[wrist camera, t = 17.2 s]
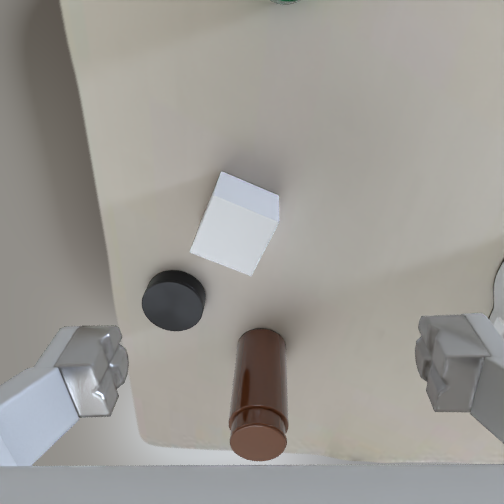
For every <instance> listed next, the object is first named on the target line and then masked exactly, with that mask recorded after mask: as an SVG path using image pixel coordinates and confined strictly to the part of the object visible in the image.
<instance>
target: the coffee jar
mask: <svg viewBox="0 0 504 504" xmlns="http://www.w3.org/2000/svg"><path fill="white" fill-rule="evenodd" d="M229 428H230V430H231V435H230V446H231V448H232V450H233V451H234V452H235V453H236V454H237V455H239V456H240V457H243V458H245V459H248V460H252V461H266V460H271V459H274V458H276V457H278V456H279V455H280V454H281V453H282V452H283V451H284V449H285V448H286V445H287V438H286V432H287V430H288V396H287V365H286V344H285V342H284V340H283V338H282V337H281V336H280V335H279V334H277V333H276V332H274V331H271V330H268V329H254V330H251V331H248V332H246V333H245V334H244V335H243V336H242V337H241V338H240V339H239V341H238V345H237V354H236V363H235V371H234V380H233V389H232V398H231V406H230V415H229Z"/></svg>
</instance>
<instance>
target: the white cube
mask: <svg viewBox="0 0 504 504" xmlns="http://www.w3.org/2000/svg"><path fill="white" fill-rule="evenodd" d="M278 224H279V195H276V194H274V193H272V192H269V191H267V190H265V189H262V188H260V187H258V186H255V185H253V184H251V183H248V182H246V181H244V180H241V179H239V178H236V177H234V176H232V175H229V174H227V173H225V172H222V171H221V173H220V176H219V178H218V180H217V183H216V185H215V188H214V190H213V193H212V195H211V198H210V200H209V202H208V205H207V207H206V210H205V212H204V215H203V217H202V220H201V222H200V225H199V227H198V230H197V233H196V236H195V238H194V241H193V244H192V247H191V250H190V253H193V254H195V255H198V256H200V257H203V258H205V259H208V260H211V261H213V262H216V263H218V264H221V265H223V266H226V267H229V268H231V269H234V270H236V271H239V272H242V273H244V274H247V275H249V276H252V274H253V272H254V270H255V268H256V266H257V264H258V262H259V261H260V259H261V257H262V255H263V253H264V251H265V249H266V247H267V245H268V243H269V241H270V239H271V237H272V235H273V233H274V232H275V230H276V228H277V226H278Z"/></svg>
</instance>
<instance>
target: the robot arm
mask: <svg viewBox="0 0 504 504" xmlns="http://www.w3.org/2000/svg"><path fill="white" fill-rule="evenodd" d="M493 294H494V309H493V311H492V313H491V316H490V318H489V319H488V318H487V316H486V315H485V314H483V313H470V314H461V315H434V316H421V318H420V320H419V326H418V329H419V331H420V333H421V337H420V338H419V339H418V340H417V341H416V347H415V357H416V364H417V369H418V372H419V374H420V377H421V378H423V379H424V380H425V381H427V388H426V392H427V394H428V397H429V399H430V401H431V404H432V406H433V409H434V411H435V412H471V413H470V414H471V415H472V416H473V417H474V418H476V419H477V420H478V421H479V422H480V423H481V424H482V425H483V426H485V427H486V428H487V429H488V430H489V431H490V432H491V433H492V434H494V435H495V436H496V437H497V438H498V439H499V440H500V441H501V442H503V443H504V262H503V263H502V265H501V267H500V269H499V271H498V273H497V275H496V279H495V282H494V289H493ZM121 339H122V334H121V331H120V329H119V327H117V326H64V327H63V328H60V329H59V331H58V332H57V334H56V335H55V337H54V338H53V340H52V341H51V342H50V344H49V345H48V347H47V348H46V350H45V351H44V353H43V354H42V355H41V357H40V359H39V360H38V361H37V363H36V364H35V366H34V367H33V368H27V369H25V370H24V371H22V372H20V373H19V374H17V375H16V376H14V377H13V378H11V379H9V380H8V381H6V382H4V383H3V384H1V385H0V504H504V464H437V465H435V464H428V465H427V464H425V465H423V464H422V465H186V466H185V465H184V466H183V465H180V466H179V465H176V466H175V465H173V466H172V465H171V466H31V465H32V464H33V463H35V461H37V459H39V458H40V457H41V456H42V455H43V454H44V453H45V452H46V451H47V450H48V449H49V448H50V447H51V446H52V445H53V444H54V443H55V442H56V441H57V440H58V439H59V438H60V437H62V436H63V435H64V434H65V433H66V432H67V431H68V430H69V429H70V428H71V427H72V426H73V425H74V424H75V423H76V422H77V421H78V420H79V418H82V417H106V416H111V414H112V411H113V409H114V407H115V404H116V402H117V399H118V397H119V395H118V392H117V388H119V387H120V386H121V385H122V384H124V382H125V379H126V377H127V374H128V366H129V361H128V354H127V351H126V349H125V348H124V347H123V346H122V345H120V344H119V343H120V341H121Z"/></svg>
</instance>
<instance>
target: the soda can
mask: <svg viewBox="0 0 504 504" xmlns="http://www.w3.org/2000/svg"><path fill="white" fill-rule="evenodd" d="M270 1H272V2H274V3H277V4H283V5H287V4H293V3H296V2H298V1H300V0H270Z"/></svg>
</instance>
